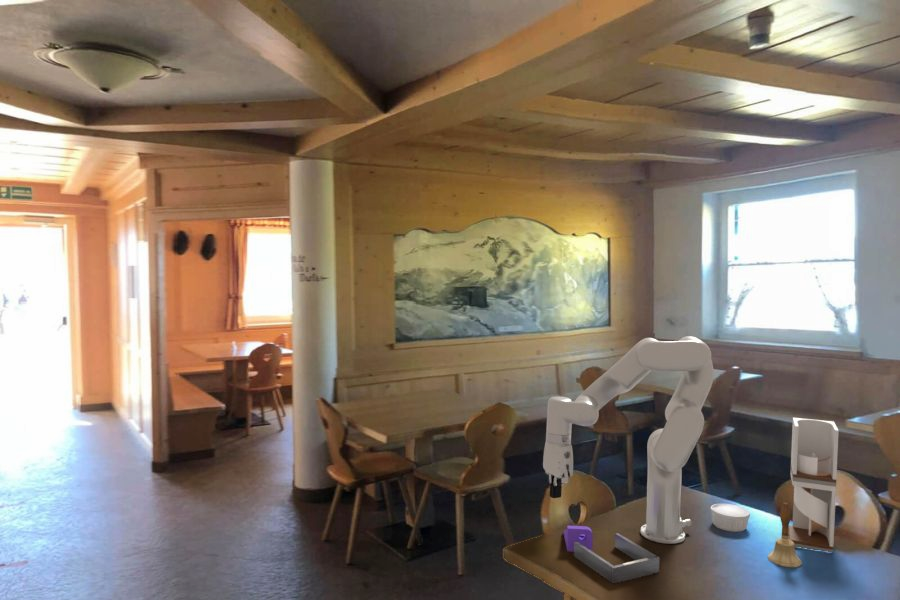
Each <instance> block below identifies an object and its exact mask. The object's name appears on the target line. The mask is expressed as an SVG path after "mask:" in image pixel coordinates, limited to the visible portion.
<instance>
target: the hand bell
mask: <svg viewBox="0 0 900 600" xmlns="http://www.w3.org/2000/svg"><path fill="white" fill-rule="evenodd" d="M791 516H792V511H791V509H790V505H789V503H788V502H787V501H786V502H783V503H782V506H781V507H780V512H779V518H780V522H781V537H779V538H776V540H775V544H774V548H773V550H772V551H771V552H770V553H768V555H767V559H768V561H770V562H771V563H772V564H774V565H777V566H781V567H786V568H799V567H801V566H802V565H803V562H802V560H801V559H800V558H799V556H798V555H797V552H796V548H795V547H794V542H793V541H791V540H789V534H788V533H789V532H788V526H789V525H790V522H791V519H792V517H791Z"/></svg>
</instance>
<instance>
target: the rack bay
mask: <svg viewBox="0 0 900 600" xmlns="http://www.w3.org/2000/svg"><path fill="white" fill-rule="evenodd" d="M615 547H616V548H617V549H616V548H615ZM614 548H615V549H616V550H618V549H619V550H618V551H620V552H621V551H622V552H621V553H623V554H624V553H625V555H626V556H628V557H629V556H630V557H629V558H631V559H633V560H632V561H627V562H625V563H619V564H616V565H614V564H612V563H610V562H609V561H608V560H605V559H604V557H601V556H600V555H598V554H597V553H595V552H594V551H593V550H592V551H591V550H589V549H588V548H586V547H585V546H583V545H582V544H580V543H579V542H574V552H573V557H574V558H575V559H577V560H578V561H579V562H581V563H583V565H585V566H587V567H588V568H589V569H591V570H592V571H594V572H595V573H597V574H598V573H599V574H598V575H600V576H601V577H602V576H603V578H604V579H605V578H606V579H605V580H607V581H608V580H609V581H608V582H610V583H611V582H612V583H614V584H617V582H618V583H622V582H626V581H629V580H630V581H631V580H633V579H639V578H642V576H643V577H646V575H647V576H649V575H650V574H651V575H654V574H653V573H655V574H657V573H658V572H659V573H660V557H659V556H657V555H656V554H654V553H652V552H651V551H649V550H647V549H646V548H644V547H642V546H641V545H639V544H637V543H636V542H634V541H633V540H630V539H629V538H627V537H625V536H624V535H622V534H620V533H619V532H618V533H615V534H614ZM621 581H622V582H621ZM612 583H611V584H612Z"/></svg>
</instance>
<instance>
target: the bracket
mask: <svg viewBox="0 0 900 600" xmlns="http://www.w3.org/2000/svg"><path fill="white" fill-rule="evenodd" d="M566 527H567V528H566V529H563V536H564V542H565V546H566V551H567V552H573V553H574V542H579V543H580V544H582V545H583V546H585V547H586V548H588V549H589V550H591V551H592V552H593V539H594V535H593V531H592V529H591V528H590V527H589V526H584V525H567V526H566Z"/></svg>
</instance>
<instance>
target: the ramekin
mask: <svg viewBox="0 0 900 600" xmlns="http://www.w3.org/2000/svg"><path fill="white" fill-rule="evenodd" d="M710 513H711V520H712V521H711V522H712V524H713V525H714V526H715V527H716V528H718V529H719V530H722V531H725V532H732V533H740V532H743V531H745V530H746V529H747V528H748V524H749V519H750V516H751V512H750V510H748V509H747V508H745V507H743V506H740V505H737V504H730V503H715V504H712V505H711V506H710Z"/></svg>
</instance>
